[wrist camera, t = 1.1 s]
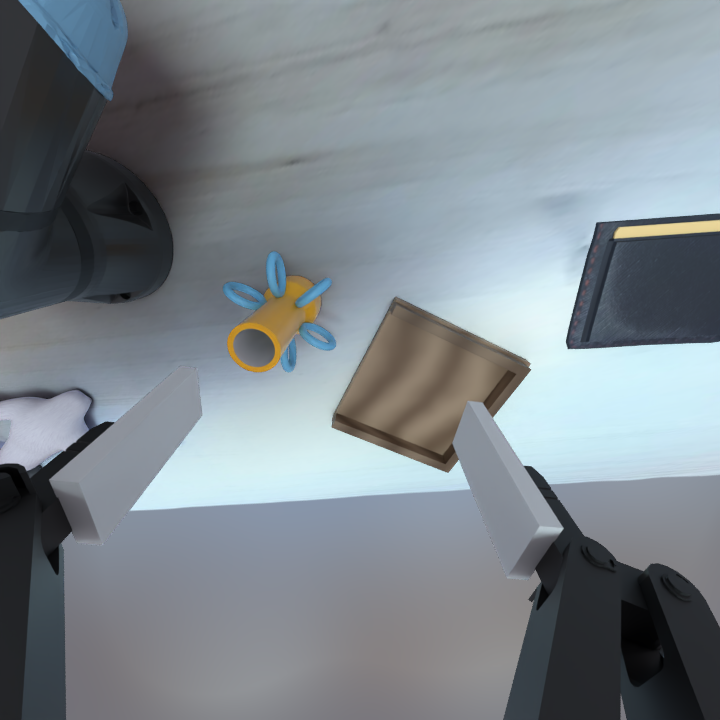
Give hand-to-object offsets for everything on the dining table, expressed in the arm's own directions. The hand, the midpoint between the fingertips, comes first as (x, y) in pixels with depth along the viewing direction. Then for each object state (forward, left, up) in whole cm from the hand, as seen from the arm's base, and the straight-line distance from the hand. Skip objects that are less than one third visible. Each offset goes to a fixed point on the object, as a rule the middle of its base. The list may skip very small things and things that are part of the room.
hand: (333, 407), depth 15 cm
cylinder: (-6, -3, -23) cm, 24 cm away
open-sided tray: (+14, -7, -23) cm, 28 cm away
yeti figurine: (-32, -38, -24) cm, 55 cm away
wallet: (+32, +17, -24) cm, 43 cm away
